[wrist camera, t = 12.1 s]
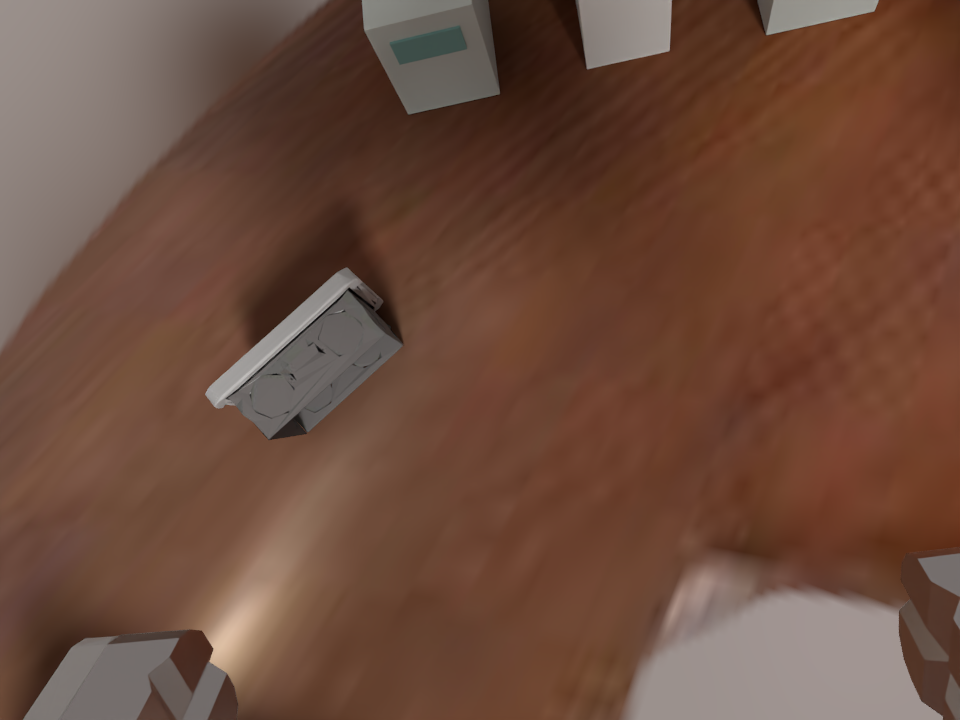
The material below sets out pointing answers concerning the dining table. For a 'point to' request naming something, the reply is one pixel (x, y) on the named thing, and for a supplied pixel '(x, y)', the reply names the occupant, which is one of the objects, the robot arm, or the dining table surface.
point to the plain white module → (623, 29)
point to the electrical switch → (309, 359)
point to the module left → (434, 50)
